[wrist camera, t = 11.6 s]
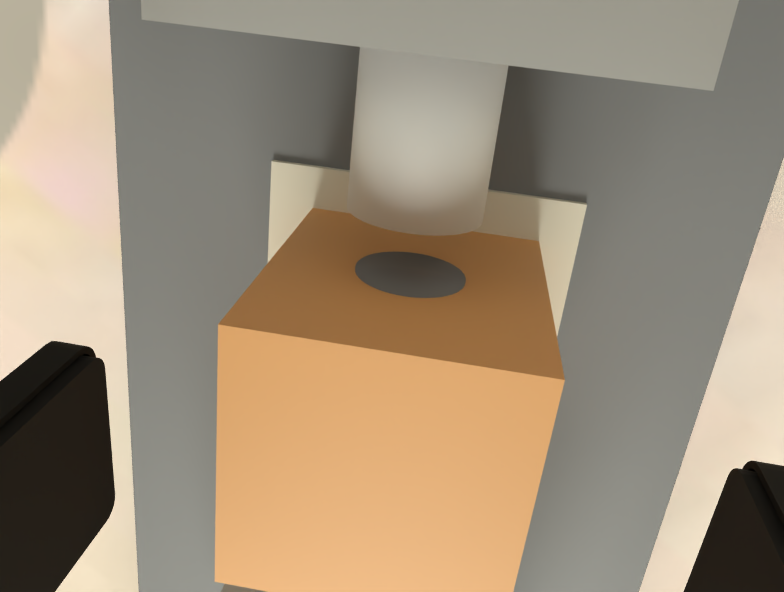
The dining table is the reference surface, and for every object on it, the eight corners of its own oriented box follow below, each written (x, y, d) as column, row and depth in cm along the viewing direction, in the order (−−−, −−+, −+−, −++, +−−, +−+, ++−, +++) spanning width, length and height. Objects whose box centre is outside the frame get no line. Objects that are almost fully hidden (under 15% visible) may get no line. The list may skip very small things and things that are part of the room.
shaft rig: (128, -356, 14) (-239, -703, 7) (894, -291, 13) (1377, -624, 6) (161, 607, 24) (28, 857, 17) (586, 686, 23) (626, 987, 16)
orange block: (312, 205, 16) (218, 321, 10) (539, 239, 15) (565, 376, 10) (299, 401, 18) (214, 583, 12) (499, 434, 18) (501, 637, 12)
